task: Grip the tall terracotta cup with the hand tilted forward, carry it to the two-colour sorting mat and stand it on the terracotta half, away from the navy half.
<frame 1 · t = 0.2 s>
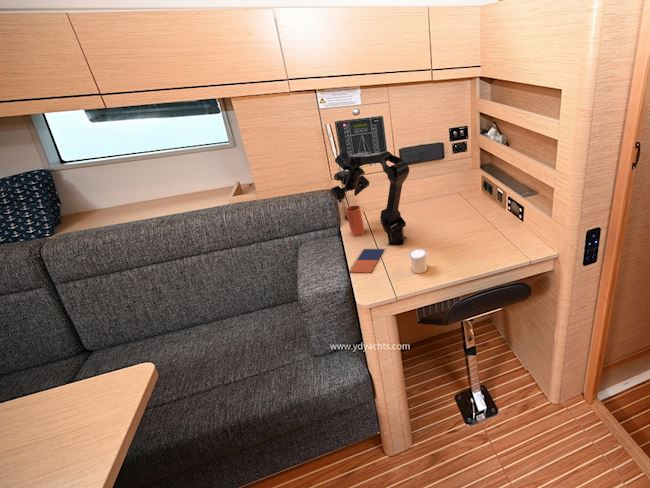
hand: (347, 198, 163), 15 cm above the table, tool tilted 35°, fingers open, 9 cm apart
terracotta cup: (358, 232, 161), on the table
shot glass: (420, 269, 130), on the table
sorting mat: (367, 260, 138), on the table
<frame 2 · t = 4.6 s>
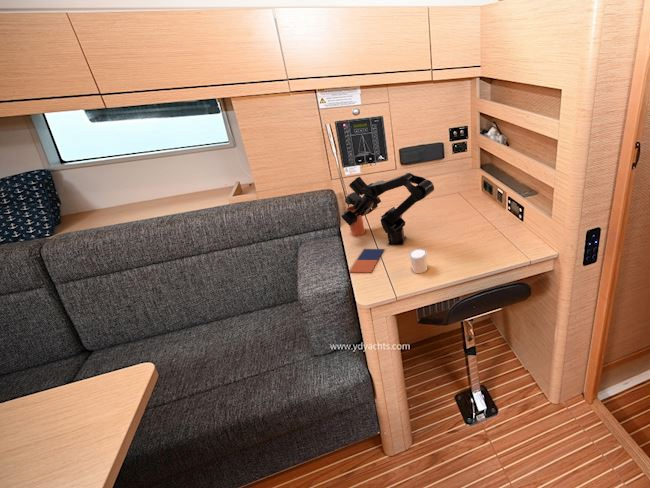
hand: (353, 220, 159), 7 cm above the table, tool tilted 45°, fingers closed on terracotta cup, 6 cm apart
terracotta cup: (358, 232, 161), on the table, touching gripper
everything else where it was.
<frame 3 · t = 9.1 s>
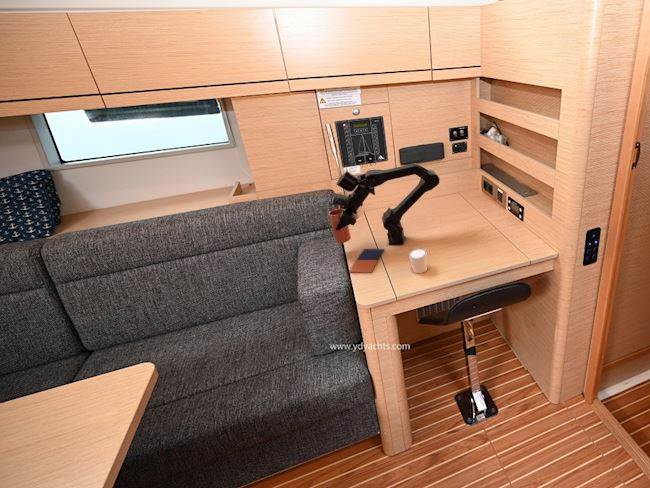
hand: (336, 226, 140), 13 cm above the table, tool tilted 45°, fingers closed on terracotta cup, 6 cm apart
terracotta cup: (343, 239, 143), point 7 cm above the table, touching gripper
everything else where it was.
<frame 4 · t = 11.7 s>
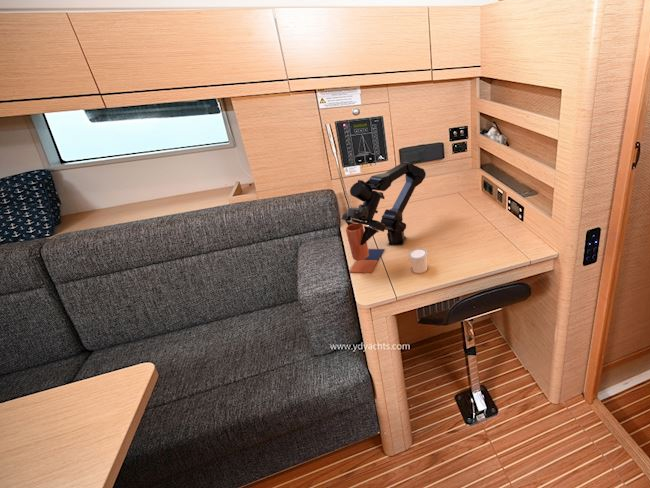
hand: (355, 243, 128), 12 cm above the table, tool tilted 45°, fingers closed on terracotta cup, 6 cm apart
terracotta cup: (361, 255, 132), point 6 cm above the table, touching gripper
everything else where it was.
when the fingers open (7 cm above the table, at t = 13.7 s): terracotta cup stays where it is, resting on sorting mat.
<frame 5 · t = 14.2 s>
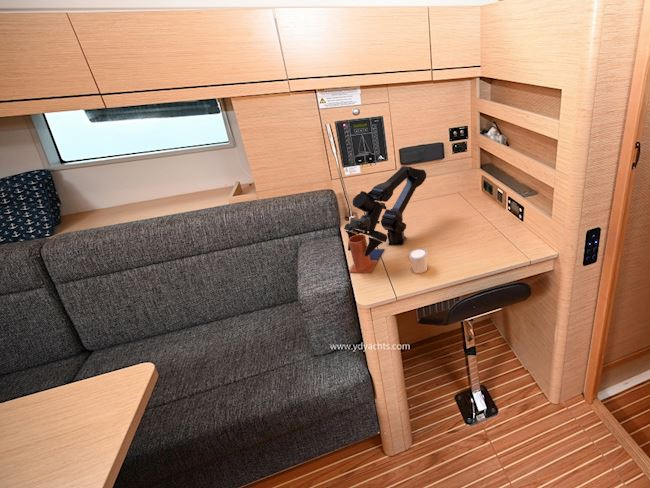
hand: (357, 253, 130), 8 cm above the table, tool tilted 45°, fingers open, 9 cm apart
terracotta cup: (363, 266, 134), resting on sorting mat
everything else where it was.
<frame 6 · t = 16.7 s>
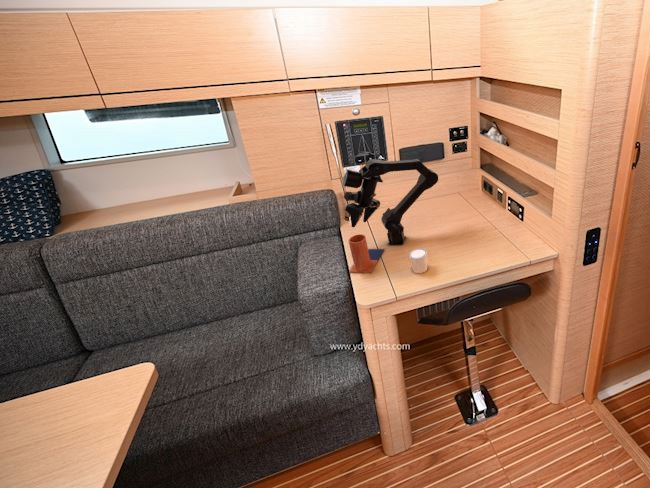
hand: (358, 224, 140), 13 cm above the table, tool tilted 25°, fingers open, 9 cm apart
nothing on the table moved.
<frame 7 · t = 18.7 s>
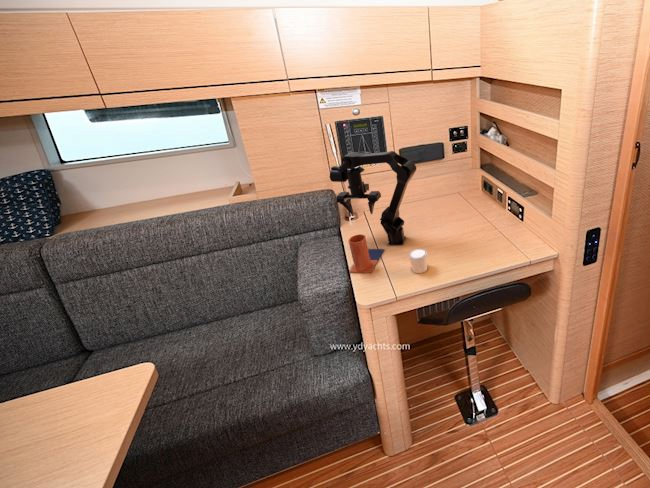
hand: (362, 214, 150), 13 cm above the table, tool pointing down, fingers open, 9 cm apart
nothing on the table moved.
at the end: terracotta cup inside the target area on the sorting mat (0.2 cm from its centre), point 0.4 cm above the sorting mat's base; terracotta cup tilted 0°; the gripper is holding nothing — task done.
